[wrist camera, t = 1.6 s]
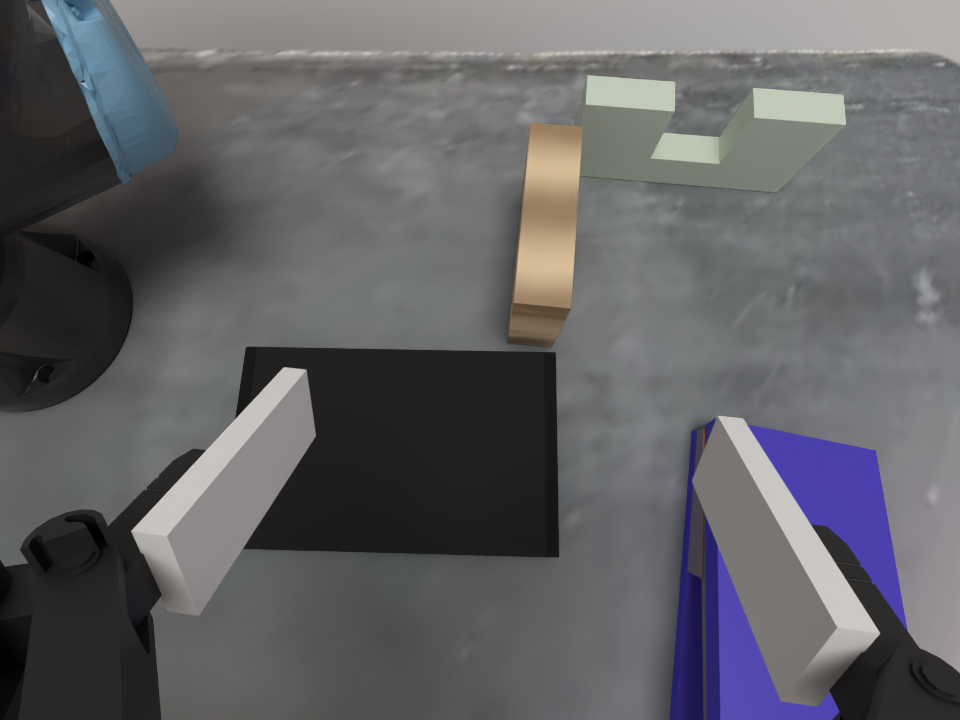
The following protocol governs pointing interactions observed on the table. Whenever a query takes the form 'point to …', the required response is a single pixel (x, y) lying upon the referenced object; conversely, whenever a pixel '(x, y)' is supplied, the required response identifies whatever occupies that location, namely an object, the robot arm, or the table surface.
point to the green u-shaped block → (701, 159)
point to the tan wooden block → (546, 235)
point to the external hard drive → (417, 452)
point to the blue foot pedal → (714, 601)
